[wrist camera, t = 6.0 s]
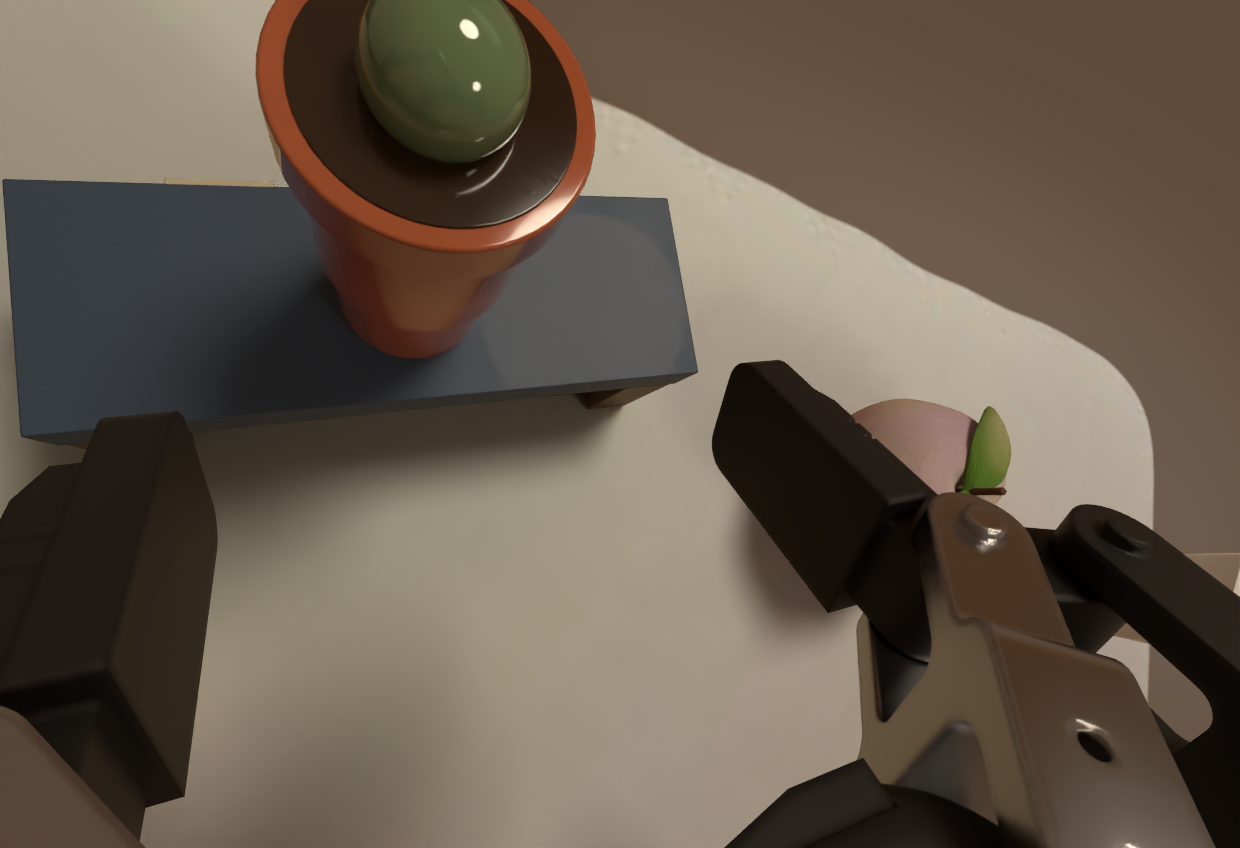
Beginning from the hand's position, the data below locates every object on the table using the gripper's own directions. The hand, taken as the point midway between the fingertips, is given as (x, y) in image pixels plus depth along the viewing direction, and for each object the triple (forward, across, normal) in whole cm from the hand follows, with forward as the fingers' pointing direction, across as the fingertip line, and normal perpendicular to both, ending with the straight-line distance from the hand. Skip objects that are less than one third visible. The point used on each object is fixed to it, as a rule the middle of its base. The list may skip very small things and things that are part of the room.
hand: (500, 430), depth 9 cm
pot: (+12, 0, +3) cm, 12 cm away
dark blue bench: (+17, 0, +8) cm, 19 cm away
